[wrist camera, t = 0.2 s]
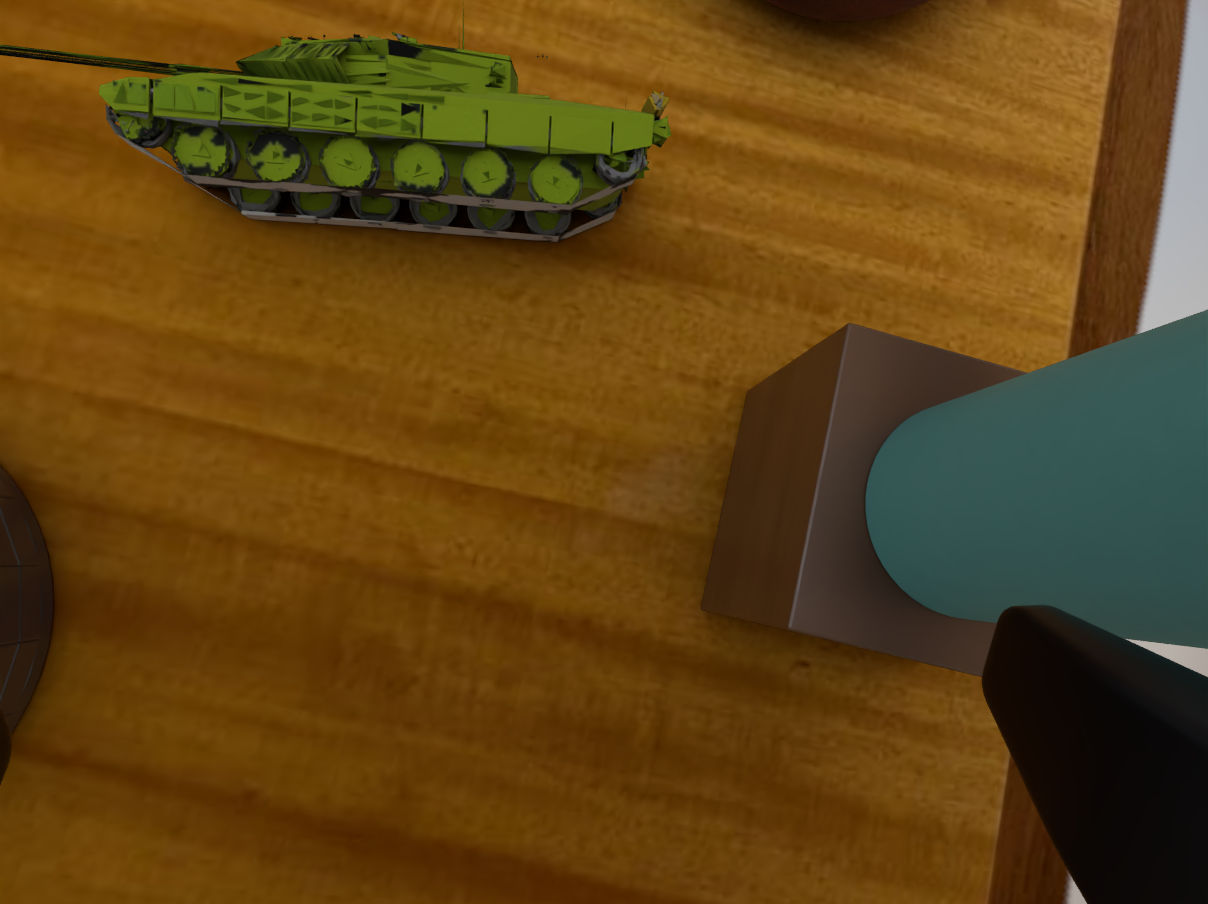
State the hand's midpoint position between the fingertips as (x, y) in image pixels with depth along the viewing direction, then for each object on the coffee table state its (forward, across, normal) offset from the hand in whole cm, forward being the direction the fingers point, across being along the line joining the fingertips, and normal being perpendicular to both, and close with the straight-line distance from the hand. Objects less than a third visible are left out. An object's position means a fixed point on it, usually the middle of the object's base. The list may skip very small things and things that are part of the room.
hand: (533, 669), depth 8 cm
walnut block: (+14, -9, +7) cm, 18 cm away
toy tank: (+20, +5, -3) cm, 21 cm away
